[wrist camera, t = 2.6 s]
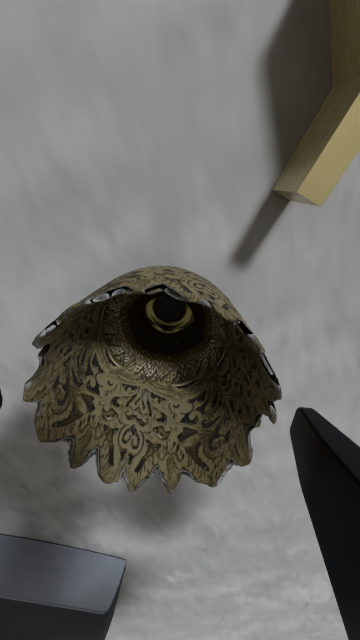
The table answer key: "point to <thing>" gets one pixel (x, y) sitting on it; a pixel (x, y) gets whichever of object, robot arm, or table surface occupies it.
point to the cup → (152, 381)
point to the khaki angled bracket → (330, 117)
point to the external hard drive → (56, 591)
